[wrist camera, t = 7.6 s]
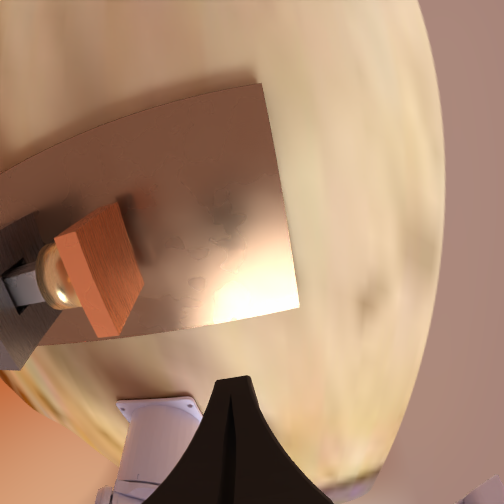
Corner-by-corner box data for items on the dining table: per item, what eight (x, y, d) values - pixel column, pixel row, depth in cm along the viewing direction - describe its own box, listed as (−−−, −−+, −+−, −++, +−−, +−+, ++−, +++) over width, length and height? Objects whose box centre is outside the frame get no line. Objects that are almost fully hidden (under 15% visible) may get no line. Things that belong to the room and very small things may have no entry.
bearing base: (259, 86, 15) (286, 44, 7) (295, 297, 21) (329, 389, 13) (-49, 209, 15) (-112, 243, 8) (7, 340, 21) (-34, 396, 13)
